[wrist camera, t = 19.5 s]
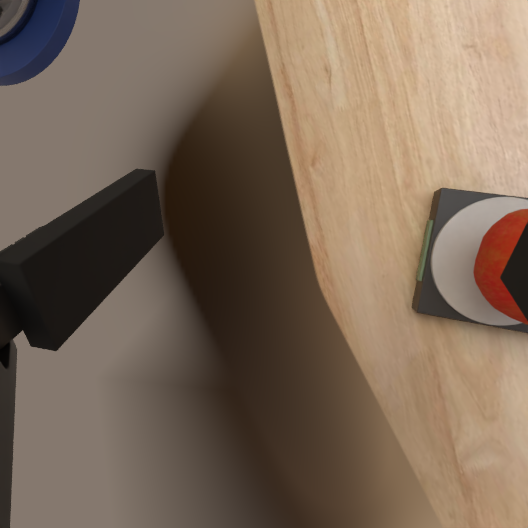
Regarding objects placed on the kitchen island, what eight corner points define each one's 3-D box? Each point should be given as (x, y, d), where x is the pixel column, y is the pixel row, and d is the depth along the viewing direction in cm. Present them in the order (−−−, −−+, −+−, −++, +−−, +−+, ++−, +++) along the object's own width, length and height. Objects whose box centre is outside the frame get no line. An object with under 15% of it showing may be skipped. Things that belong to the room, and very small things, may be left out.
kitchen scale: (408, 307, 36) (415, 313, 33) (431, 191, 35) (440, 186, 32) (541, 331, 34) (561, 340, 31) (569, 208, 33) (593, 204, 30)
